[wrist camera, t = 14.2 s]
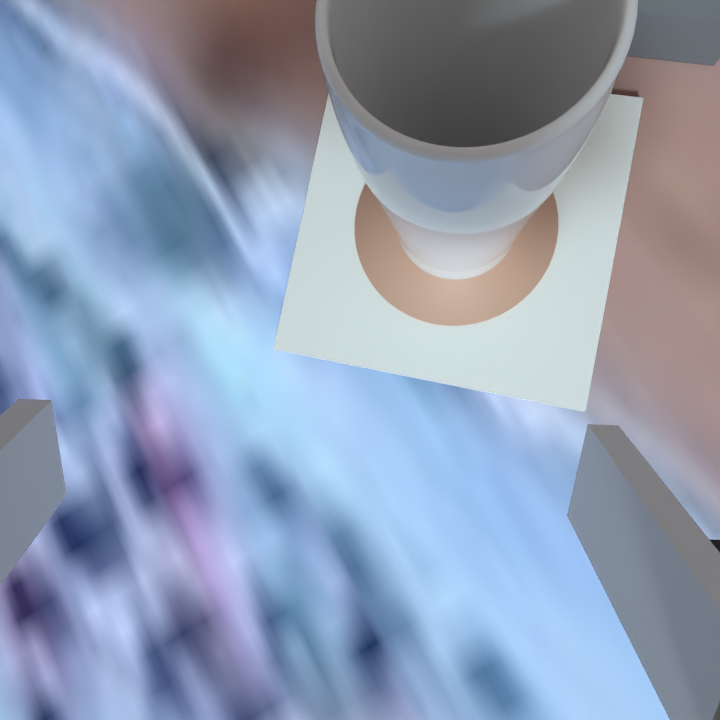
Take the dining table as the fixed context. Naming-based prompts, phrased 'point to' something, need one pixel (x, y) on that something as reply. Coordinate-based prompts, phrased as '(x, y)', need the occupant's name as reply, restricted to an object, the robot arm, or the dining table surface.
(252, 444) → the dining table surface
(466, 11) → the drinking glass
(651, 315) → the dining table surface
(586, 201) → the white flat square plate
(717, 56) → the button housing
